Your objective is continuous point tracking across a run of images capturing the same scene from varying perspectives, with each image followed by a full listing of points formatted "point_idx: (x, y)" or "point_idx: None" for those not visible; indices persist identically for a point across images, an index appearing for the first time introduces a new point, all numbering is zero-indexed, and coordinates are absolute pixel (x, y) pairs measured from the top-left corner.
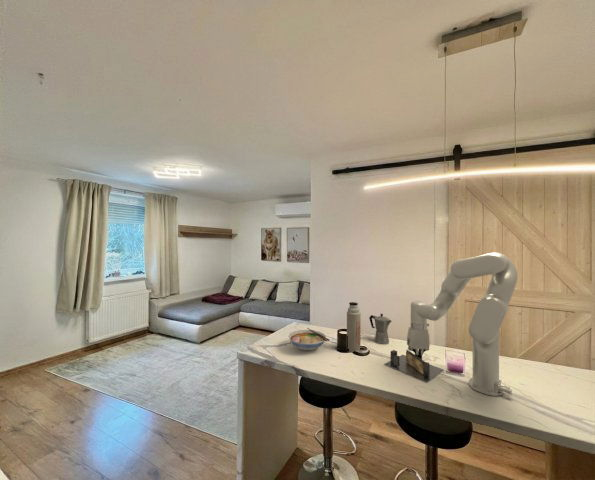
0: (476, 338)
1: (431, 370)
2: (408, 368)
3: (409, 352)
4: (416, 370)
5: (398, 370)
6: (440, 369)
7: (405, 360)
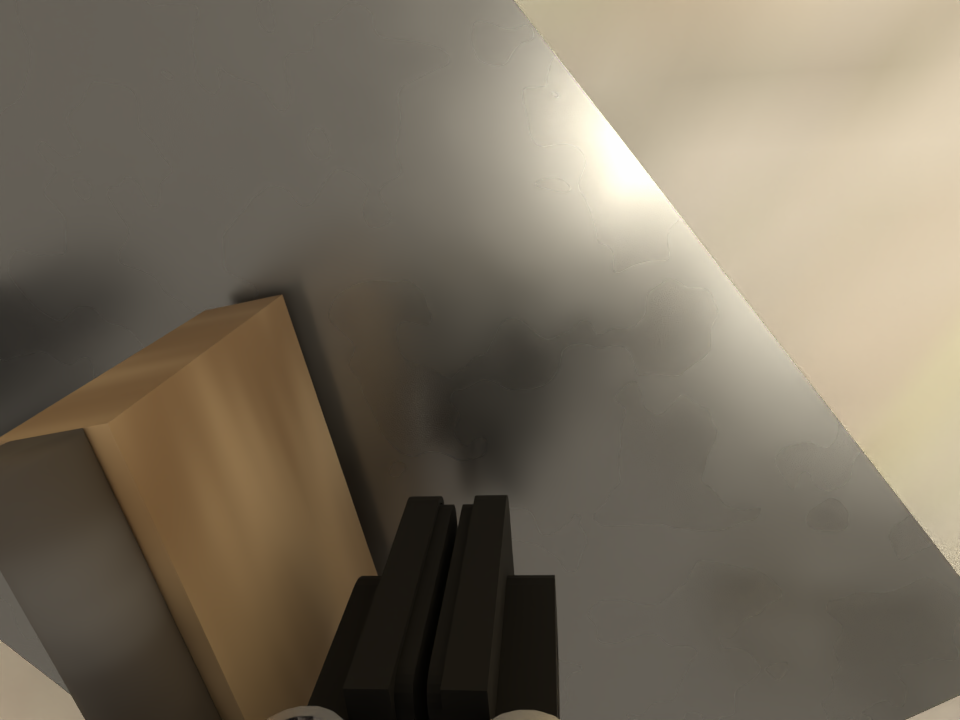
0: None
1: (684, 686)
2: None
3: (68, 684)
4: None
5: (8, 627)
6: (939, 658)
7: (224, 196)
